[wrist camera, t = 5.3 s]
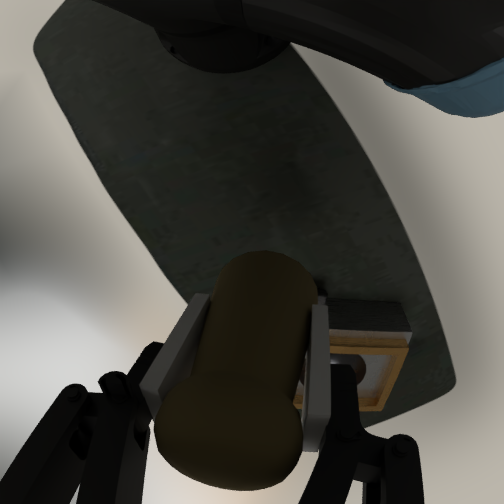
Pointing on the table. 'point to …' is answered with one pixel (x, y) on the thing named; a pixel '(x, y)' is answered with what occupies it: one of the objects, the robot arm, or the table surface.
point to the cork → (243, 378)
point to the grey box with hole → (365, 346)
